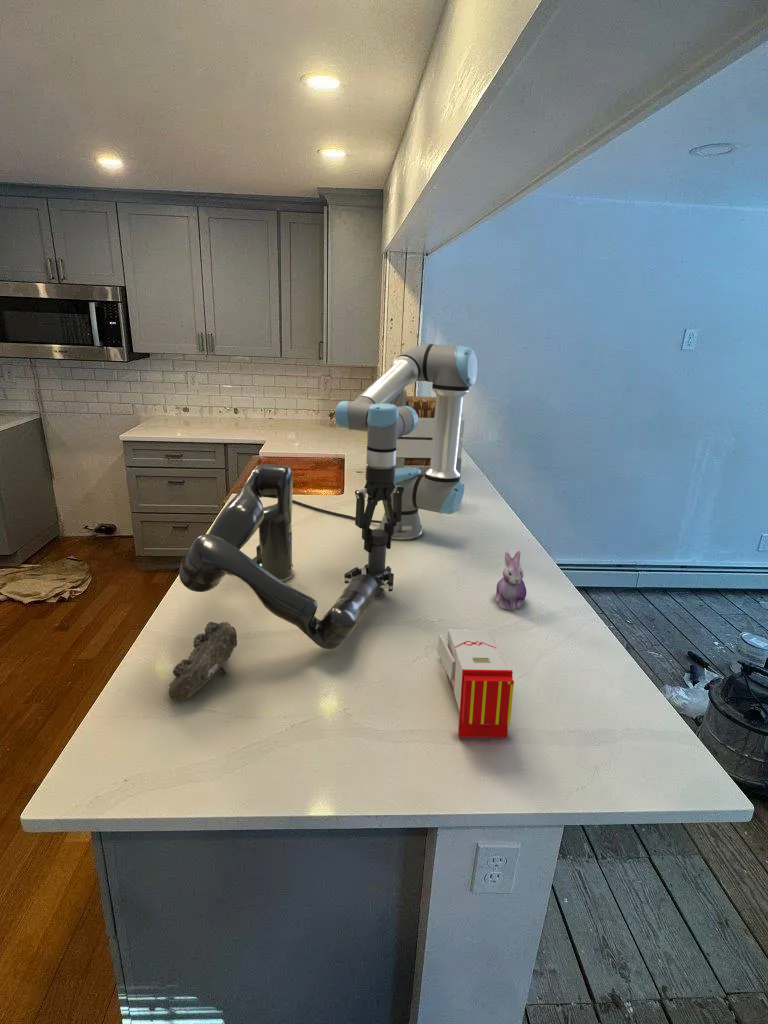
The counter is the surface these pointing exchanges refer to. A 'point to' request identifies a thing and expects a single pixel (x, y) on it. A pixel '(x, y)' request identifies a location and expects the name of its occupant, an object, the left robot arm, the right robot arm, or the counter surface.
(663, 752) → the counter surface
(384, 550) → the jar
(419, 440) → the white slatted crate
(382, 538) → the lid
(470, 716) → the toy
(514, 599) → the figurine
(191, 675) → the fossil
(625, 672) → the counter surface
